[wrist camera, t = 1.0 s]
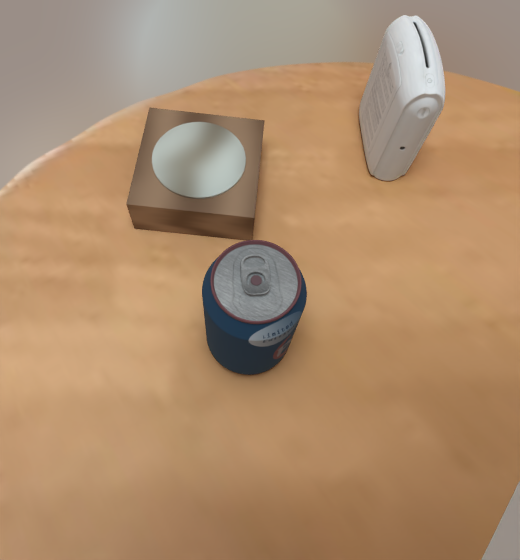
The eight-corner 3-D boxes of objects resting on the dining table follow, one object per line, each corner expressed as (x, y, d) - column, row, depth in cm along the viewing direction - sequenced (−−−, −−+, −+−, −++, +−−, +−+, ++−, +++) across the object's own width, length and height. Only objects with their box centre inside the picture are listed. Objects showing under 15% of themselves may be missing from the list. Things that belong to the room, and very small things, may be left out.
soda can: (292, 375, 40) (318, 327, 29) (209, 381, 39) (203, 336, 28) (283, 298, 42) (303, 228, 32) (205, 303, 42) (198, 233, 31)
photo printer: (408, 182, 49) (463, 88, 38) (367, 182, 48) (410, 87, 37) (391, 106, 53) (436, 1, 42) (353, 106, 53) (388, 0, 42)
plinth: (261, 148, 49) (264, 118, 45) (251, 240, 45) (254, 215, 41) (155, 136, 49) (149, 105, 45) (134, 228, 44) (125, 202, 41)
